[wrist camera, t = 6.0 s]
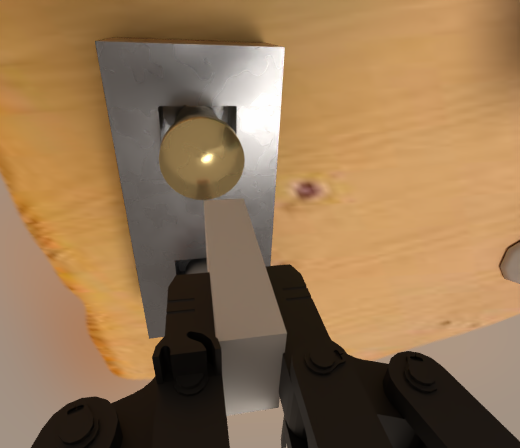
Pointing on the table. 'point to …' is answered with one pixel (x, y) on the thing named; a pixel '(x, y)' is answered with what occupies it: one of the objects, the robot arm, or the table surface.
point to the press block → (159, 121)
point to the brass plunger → (201, 154)
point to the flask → (512, 264)
